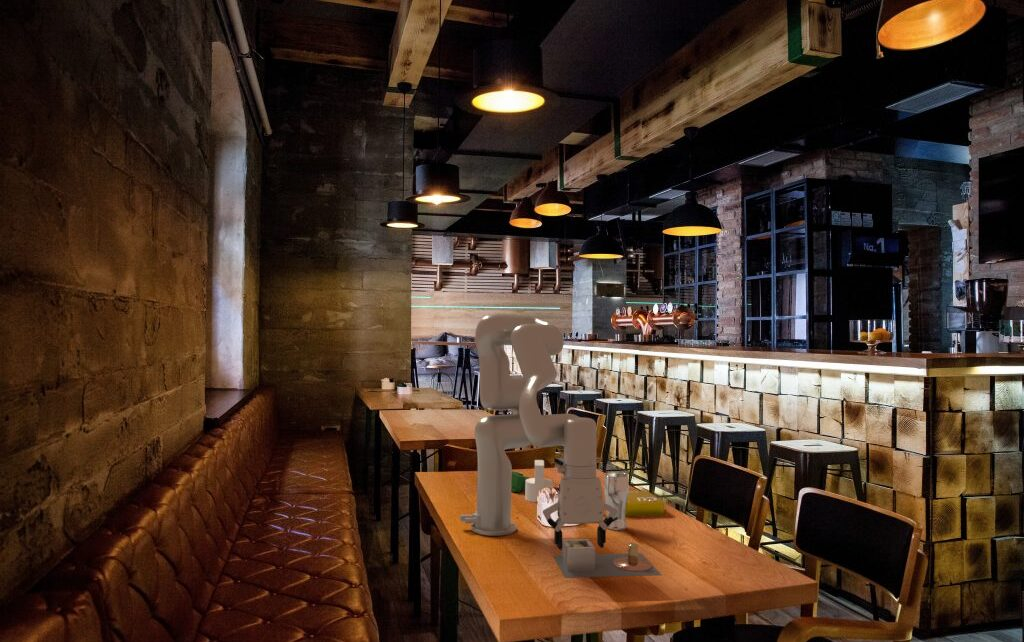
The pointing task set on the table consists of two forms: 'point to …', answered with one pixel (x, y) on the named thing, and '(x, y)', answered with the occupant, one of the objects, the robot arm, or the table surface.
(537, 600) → the table surface
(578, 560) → the steel collar
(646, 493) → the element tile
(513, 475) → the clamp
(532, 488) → the cylinder with rectangular tab
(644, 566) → the peg on flat base
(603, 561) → the stand board
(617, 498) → the beer glass
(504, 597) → the table surface
